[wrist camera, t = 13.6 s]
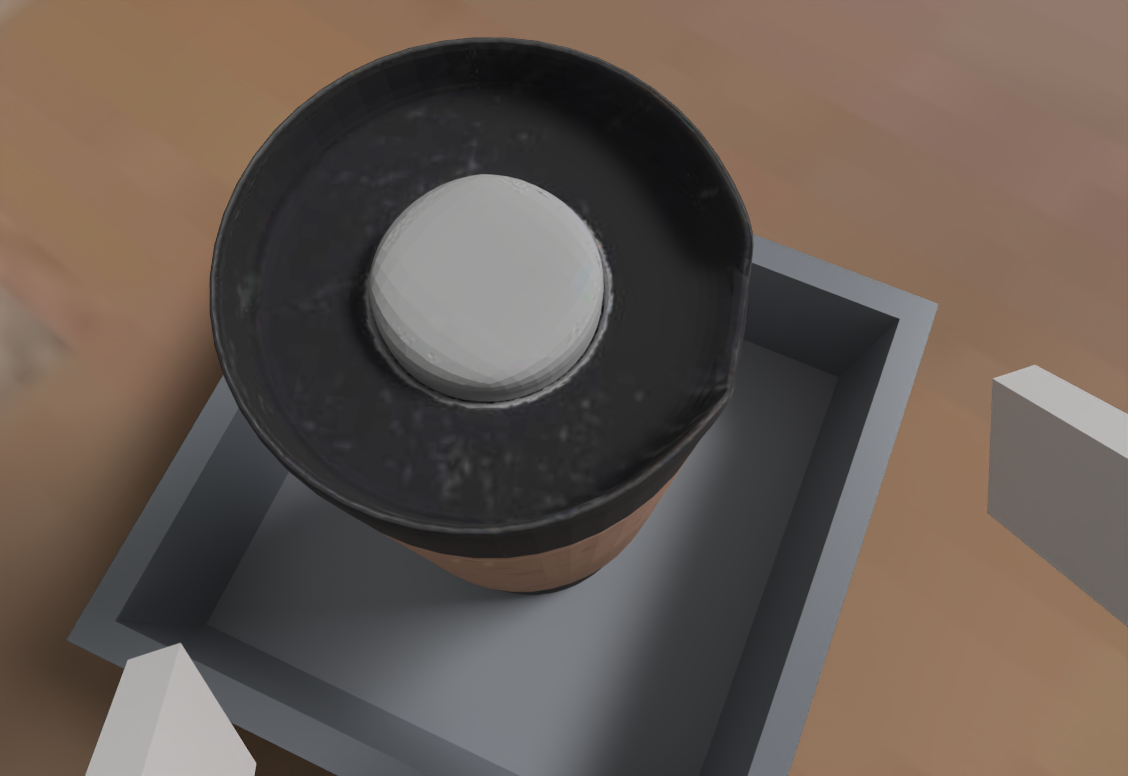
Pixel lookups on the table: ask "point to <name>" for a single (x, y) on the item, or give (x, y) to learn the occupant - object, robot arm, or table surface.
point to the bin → (556, 620)
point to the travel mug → (485, 303)
